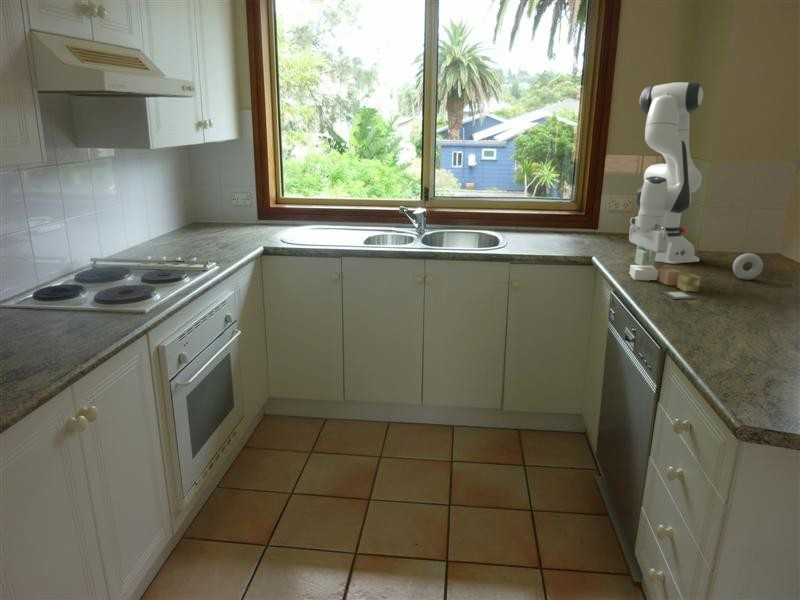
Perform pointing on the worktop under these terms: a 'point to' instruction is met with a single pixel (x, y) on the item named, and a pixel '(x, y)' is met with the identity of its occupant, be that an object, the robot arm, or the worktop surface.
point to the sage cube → (643, 257)
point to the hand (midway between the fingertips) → (645, 259)
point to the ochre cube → (688, 282)
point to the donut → (745, 258)
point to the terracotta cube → (669, 276)
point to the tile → (679, 295)
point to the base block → (643, 272)
